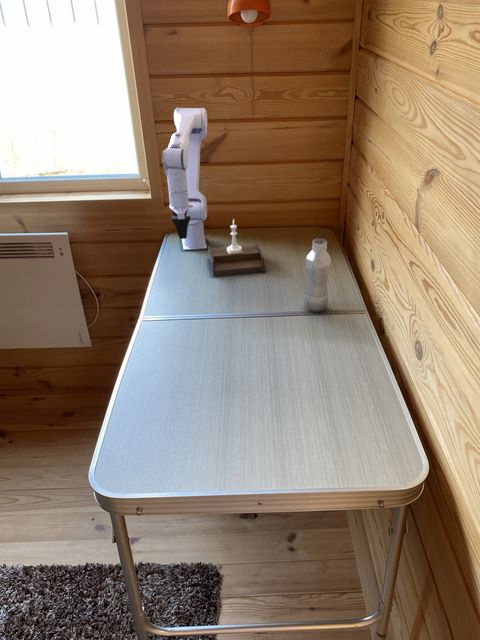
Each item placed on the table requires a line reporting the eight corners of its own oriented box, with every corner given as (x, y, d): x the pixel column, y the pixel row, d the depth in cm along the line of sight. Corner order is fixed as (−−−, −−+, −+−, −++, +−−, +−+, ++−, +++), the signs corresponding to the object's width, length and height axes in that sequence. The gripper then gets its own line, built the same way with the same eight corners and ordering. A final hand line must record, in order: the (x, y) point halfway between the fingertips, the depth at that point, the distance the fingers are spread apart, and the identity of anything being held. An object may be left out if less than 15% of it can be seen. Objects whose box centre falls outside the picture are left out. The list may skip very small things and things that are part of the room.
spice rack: (209, 260, 170) (208, 246, 167) (257, 256, 172) (257, 242, 169) (213, 276, 160) (212, 261, 157) (264, 272, 162) (264, 257, 160)
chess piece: (242, 246, 168) (241, 217, 162) (242, 253, 164) (241, 223, 158) (227, 247, 168) (225, 217, 162) (226, 253, 164) (225, 223, 158)
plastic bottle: (326, 315, 141) (331, 247, 129) (302, 313, 142) (305, 245, 130) (328, 304, 146) (334, 237, 134) (305, 301, 147) (308, 235, 135)
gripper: (193, 197, 149) (196, 241, 156) (189, 182, 160) (193, 224, 168) (168, 198, 148) (173, 243, 155) (167, 183, 159) (171, 226, 167)
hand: (182, 233), depth 162 cm, fingers open, 7 cm apart
